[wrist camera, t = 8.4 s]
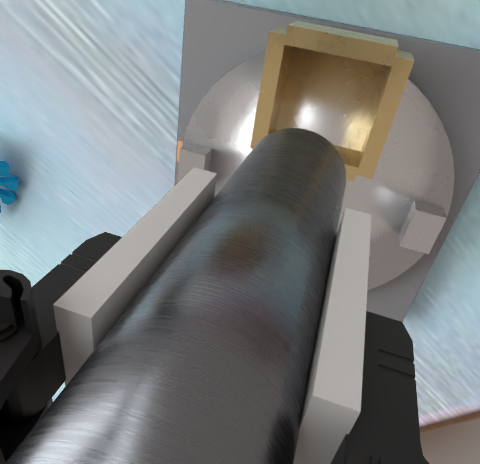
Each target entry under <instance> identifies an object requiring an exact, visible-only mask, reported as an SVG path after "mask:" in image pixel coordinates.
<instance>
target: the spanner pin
mask: <svg viewBox="0 0 480 464" xmlns="http://www.w3.org/2000/svg"><path fill="white" fill-rule="evenodd" d="M345 187H346V169H345V165H344V162H343V159H342V157H341V155H340V153H339V152H338V150H337V149H336V148H335V147H334V146H333V144H332V143H331V142H329V141H328V140H327V139H326V138H324V137H323V136H321V135H319V134H317V133H315V132H313V131H310V130H306V129H301V128H286V129H281V130H277V131H275V132H272V133H270V134H268V135H267V136H265V137H264V138H263V139H261V140H260V141H259V142H258V143H257V144H256V145H255V147H254V148H253V149H252V151H251V152H250V153H249V154H248V156H247V157H246V158H245V159H244V161H243V162H242V163H241V165H240V166H239V167H238V168H237V170H236V171H235V172H234V173H233V175H232V176H231V177H230V178H229V180H228V181H227V182H226V184H225V185H224V186H223V187H222V189H221V190H220V191H219V192H218V194H217V195H216V196H215V198H214V199H213V200H212V201H211V203H210V204H209V205H208V206H207V208H206V209H205V210H204V211H203V213H202V214H201V215H200V217H199V218H198V219H197V220H196V222H195V223H194V224H193V225H192V227H191V228H190V229H189V231H188V232H187V233H186V234H185V236H184V237H183V238H182V239H181V241H180V242H179V243H178V245H177V246H176V247H175V248H174V250H173V251H172V252H171V253H170V255H169V256H168V257H167V258H166V260H165V261H164V262H163V264H162V265H161V266H160V267H159V269H158V270H157V271H156V272H155V274H154V275H153V276H152V278H151V279H150V280H149V281H148V283H147V284H146V285H145V286H144V288H143V289H142V290H141V291H140V293H139V294H138V295H137V297H136V298H135V299H134V300H133V302H132V303H131V304H130V305H129V307H128V308H127V309H126V311H125V312H124V313H123V314H122V316H121V317H120V318H119V319H118V321H117V322H116V323H115V324H114V326H113V327H112V328H111V330H110V331H109V332H108V333H107V335H106V336H105V337H104V338H103V340H102V341H101V342H100V344H99V345H98V346H97V347H96V349H95V350H94V351H93V352H92V354H91V355H90V356H89V358H88V359H87V360H86V361H85V363H84V364H83V365H82V366H81V368H80V369H79V370H78V371H77V373H76V374H75V375H74V377H73V378H72V379H71V380H70V382H69V383H68V384H67V385H66V387H65V388H64V389H63V391H62V392H61V393H60V394H59V396H58V397H57V398H56V399H55V401H54V402H53V403H52V404H51V406H50V407H49V408H48V410H47V411H46V412H45V413H44V415H43V416H42V417H41V418H40V420H39V421H38V422H37V424H36V425H35V426H34V427H33V429H32V430H31V431H30V432H29V434H28V435H27V436H26V437H25V439H24V440H23V441H22V443H21V444H20V445H19V446H18V448H17V449H16V450H15V451H14V453H13V454H12V455H11V457H10V458H9V459H8V460H7V462H6V463H5V464H293V463H294V457H295V452H296V447H297V441H298V435H299V426H300V421H301V416H302V411H303V405H304V400H305V395H306V390H307V384H308V379H309V374H310V369H311V363H312V358H313V353H314V348H315V342H316V337H317V332H318V327H319V321H320V316H321V311H322V306H323V301H324V295H325V290H326V285H327V280H328V274H329V269H330V264H331V259H332V253H333V248H334V243H335V238H336V234H337V229H338V224H339V219H340V213H341V208H342V203H343V198H344V192H345Z"/></svg>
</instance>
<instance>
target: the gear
mask: <svg viewBox="0 0 480 464" xmlns="http://www.w3.org/2000/svg"><path fill="white" fill-rule="evenodd" d="M0 175H1V176H8V175H10V171H9V165H8V164H7V162H6V161H0ZM0 185H2V186H5V187H6V188H7V189H9V190H12V191H15V190H17V188H18V177H15V176H10V177H0ZM12 191H6V190H3V189H1V188H0V197H1V198H2V202H3V203H4V204H7V205H9V204H11V203H13V202H14V201H15V200H16V195H15V193H14V192H12ZM0 213H1V206H0Z"/></svg>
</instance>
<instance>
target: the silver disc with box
mask: <svg viewBox="0 0 480 464" xmlns="http://www.w3.org/2000/svg"><path fill="white" fill-rule="evenodd" d="M398 47H399V46H398V41H397V40H395V39H390V38H384V37H379V36H374V35H369V34H364V33H359V32H354V31H348V30H343V29H338V28H333V27H328V26H323V25H317V24H312V23H307V22H302V21H296V22H294V23H291V24H289V25H288V28H285V27H278V28H276V29H273V30H271V31H269V35H268V41H267V47H266V52H263V53H261V54H259V55H257V56H255V57H253V58H251V59H249V60H247V61H245V62H243V63H242V64H240V65H239V66H237V67H236V68H234V69H233V70H231V71H230V72H228V73H227V74H225V75H224V76H223V77H222V78H221V79H220V80H219V81H218V82H217V83H215V84H214V85H213V86H212V88H211V89H210V90H209V91H208V92H207V94H206V95H205V96H204V97H203V98H202V100H201V101H200V103H199V105H198V106H197V108H196V109H195V111H194V113H193V115H192V117H191V119H190V122H189V124H188V126H187V129H186V133H185V136H184V140H183V144H182V147H181V148H180V153H179V168H178V182H179V181H181V180H182V179H183V178H184V177H185V176H186V175H187V174H188V173H189V172H190V171H191V170H192V169H193V168H194V167H195V168H198V169H202V170H206V171H210V172H213V173H217V179H216V187H215V195H214V198H215V196H216V195H217V194H218V192H219V191H220V190H221V189H222V187H223V186H224V185H225V184H226V182H227V181H228V180H229V178H230V177H231V176H232V175H233V173H234V172H235V171H236V170H237V168H238V167H239V166H240V165H241V163H242V162H243V161H244V159H245V158H246V157H247V156H248V154H249V153H250V152H251V151H252V149H253V148H254V147H255V145H256V144H257V143H258V142H259V141H260V140H261V139H263V138H264V137H265V136H267V135H268V134H270V133H272V132H275V131H277V130H281V129H286V128H301V129H306V130H310V131H313V132H315V133H317V134H319V135H321V136H323V137H324V138H326V139H327V140H328V141H329V142H331V143H332V144H333V146H334V147H335V148H336V149H337V150H338V152H339V153H340V155H341V157H342V159H343V162H344V165H345V169H346V187H345V192H344V198H343V203H342V208H341V213H340V219H339V224H338V228H339V225H340V222H341V219H342V216H343V213H344V210H345V208H348V209H352V210H356V211H359V212H363V213H367V214H371V233H370V251H369V269H368V287H367V290H370V289H373V288H375V287H378V286H380V285H383V284H385V283H387V282H389V281H390V280H392V279H394V278H396V277H398V276H399V275H400V274H402V273H403V272H405V271H406V270H407V269H409V268H410V267H411V266H413V265H414V264H415V263H416V262H417V261H418V260H419V259H420V258H421V257H422V256H423V255H424V254H425V253H426V254H429V253H430V251H431V249H432V247H433V245H434V243H435V241H436V239H437V237H438V235H439V233H440V231H441V229H442V228H443V225H444V223H445V221H446V219H447V215H448V213H449V210H450V206H451V201H452V197H453V190H454V178H455V175H454V162H453V155H452V151H451V147H450V143H449V139H448V137H447V134H446V132H445V129H444V127H443V124H442V122H441V120H440V117H439V115H438V114H437V112H436V110H435V109H434V107H433V105H432V104H431V102H430V101H429V99H428V98H427V97H426V96H425V94H424V93H423V92H422V91H421V90H420V89H419V87H418V86H417V85H416V84H415V83H414V82H413V81H412V80H410V79H409V75H410V72H411V69H412V66H413V64H414V58H413V55H412V53H411V52H406V51H401V50H398ZM337 231H338V229H337Z"/></svg>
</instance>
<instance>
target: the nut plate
mask: <svg viewBox="0 0 480 464" xmlns="http://www.w3.org/2000/svg"><path fill="white" fill-rule="evenodd" d="M296 21H302V22H307V23H312V24H317V25H323V26H328V27H333V28H338V29H343V30H348V31H354V32H359V33H364V34H369V35H374V36H379V37H384V38H390V39H395V40H397V41H398V46H399V47H398V50H401V51H406V52H411V53H412V55H413V58H414V64H413V66H412V69H411V72H410V75H409V79H410V80H412V81H413V82H414V83H415V84H416V85H417V86H418V87H419V89H420V90H421V91H422V92H423V93H424V94H425V96H426V97H427V98H428V99H429V101H430V102H431V104H432V105H433V107H434V109H435V110H436V112H437V114H438V115H439V117H440V120H441V122H442V124H443V127H444V129H445V132H446V134H447V137H448V139H449V143H450V147H451V151H452V155H453V162H454V175H455V178H454V190H453V197H452V201H451V206H450V210H449V213H448V215H447V219H446V221H445V223H444V225H443V228H442V229H441V231H440V233H439V235H438V237H437V239H436V241H435V243H434V245H433V247H432V249H431V251H430V253H429V254H426V253H425V254H424V255H423V256H422V257H421V258H420V259H419V260H418V261H417V262H416V263H415V264H414V265H413V266H411V267H410V268H409V269H407V270H406V271H405V272H403V273H402V274H400V275H399V276H398V277H396V278H394V279H392V280H390V281H389V282H387V283H385V284H383V285H380V286H378V287H375V288H373V289H370V290H367V305H366V311H368V312H372V313H375V314H378V315H381V316H385V317H388V318H391V319H394V320H398V321H401V322H402V321H403V320H404V318H405V316H406V314H407V312H408V310H409V308H410V306H411V304H412V302H413V300H414V298H415V296H416V294H417V292H418V290H419V288H420V287H421V285H422V283H423V281H424V279H425V277H426V275H427V273H428V271H429V269H430V267H431V265H432V263H433V261H434V259H435V257H436V256H437V254H438V252H439V250H440V248H441V246H442V244H443V242H444V240H445V238H446V236H447V234H448V232H449V230H450V228H451V226H452V224H453V223H454V221H455V219H456V217H457V215H458V213H459V211H460V209H461V207H462V205H463V203H464V201H465V199H466V197H467V195H468V193H469V191H470V190H471V188H472V186H473V184H474V182H475V180H476V178H477V176H478V174H479V172H480V50H479V49H473V48H468V47H463V46H458V45H453V44H447V43H442V42H437V41H432V40H426V39H421V38H416V37H411V36H406V35H400V34H395V33H390V32H385V31H380V30H374V29H369V28H364V27H359V26H353V25H348V24H343V23H338V22H333V21H327V20H322V19H317V18H312V17H307V16H301V15H296V14H291V13H286V12H280V11H275V10H270V9H265V8H260V7H254V6H249V5H244V4H239V3H233V2H228V1H223V0H185V15H184V32H183V49H182V66H181V83H180V100H179V117H178V134H177V151H176V168H175V185H176V184H177V183H178V168H179V153H180V148H181V147H182V144H183V140H184V136H185V133H186V129H187V126H188V124H189V122H190V119H191V117H192V115H193V113H194V111H195V109H196V108H197V106H198V105H199V103H200V101H201V100H202V98H203V97H204V96H205V95H206V94H207V92H208V91H209V90H210V89H211V88H212V86H213V85H214V84H215V83H217V82H218V81H219V80H220V79H221V78H222V77H223V76H224V75H225V74H227V73H228V72H230V71H231V70H233V69H234V68H236V67H237V66H239V65H240V64H242V63H243V62H245V61H247V60H249V59H251V58H253V57H255V56H257V55H259V54H261V53H263V52H266V47H267V41H268V35H269V31H271V30H273V29H276V28H278V27H285V28H288V25H289V24H291V23H294V22H296ZM175 185H174V186H175Z"/></svg>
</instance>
